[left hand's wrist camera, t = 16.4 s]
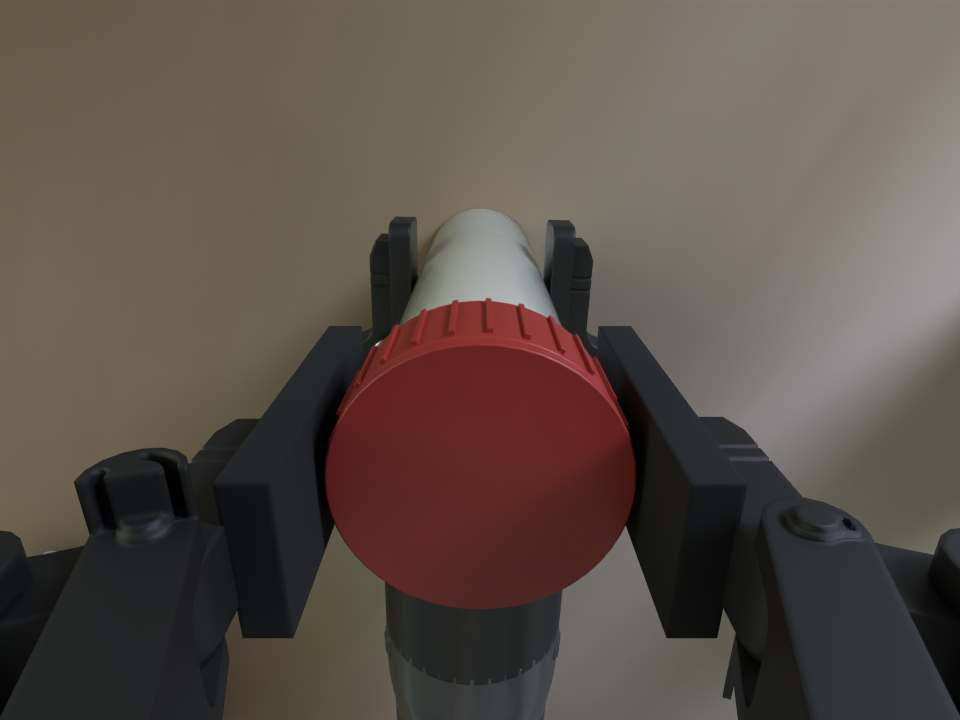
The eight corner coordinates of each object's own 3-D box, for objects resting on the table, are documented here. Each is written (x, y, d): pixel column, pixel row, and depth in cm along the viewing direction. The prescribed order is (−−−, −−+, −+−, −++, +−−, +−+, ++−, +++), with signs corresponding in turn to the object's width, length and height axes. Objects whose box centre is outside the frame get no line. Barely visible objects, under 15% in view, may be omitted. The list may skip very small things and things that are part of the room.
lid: (635, 496, 13) (667, 575, 11) (400, 554, 14) (385, 640, 11) (578, 261, 11) (604, 296, 9) (307, 340, 12) (266, 392, 9)
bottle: (443, 318, 28) (392, 591, 12) (418, 221, 26) (316, 383, 10) (539, 297, 27) (625, 549, 11) (519, 197, 26) (587, 324, 10)
